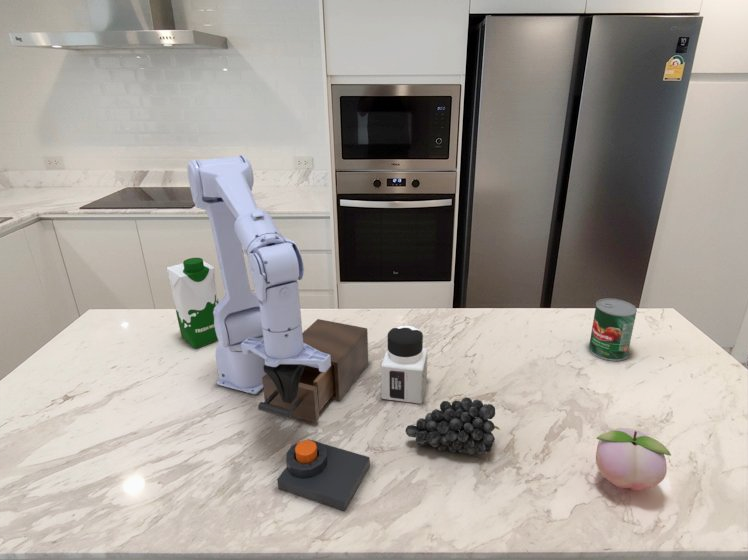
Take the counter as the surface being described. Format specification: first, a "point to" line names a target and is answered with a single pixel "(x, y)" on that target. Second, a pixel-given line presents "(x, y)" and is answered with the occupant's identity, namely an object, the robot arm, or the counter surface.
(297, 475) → the button block
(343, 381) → the cabinet
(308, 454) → the button
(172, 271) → the milk carton
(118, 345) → the counter surface
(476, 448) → the fruit
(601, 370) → the counter surface
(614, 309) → the canned tomato
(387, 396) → the container
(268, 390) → the drawer
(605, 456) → the decorative fruit
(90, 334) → the counter surface
